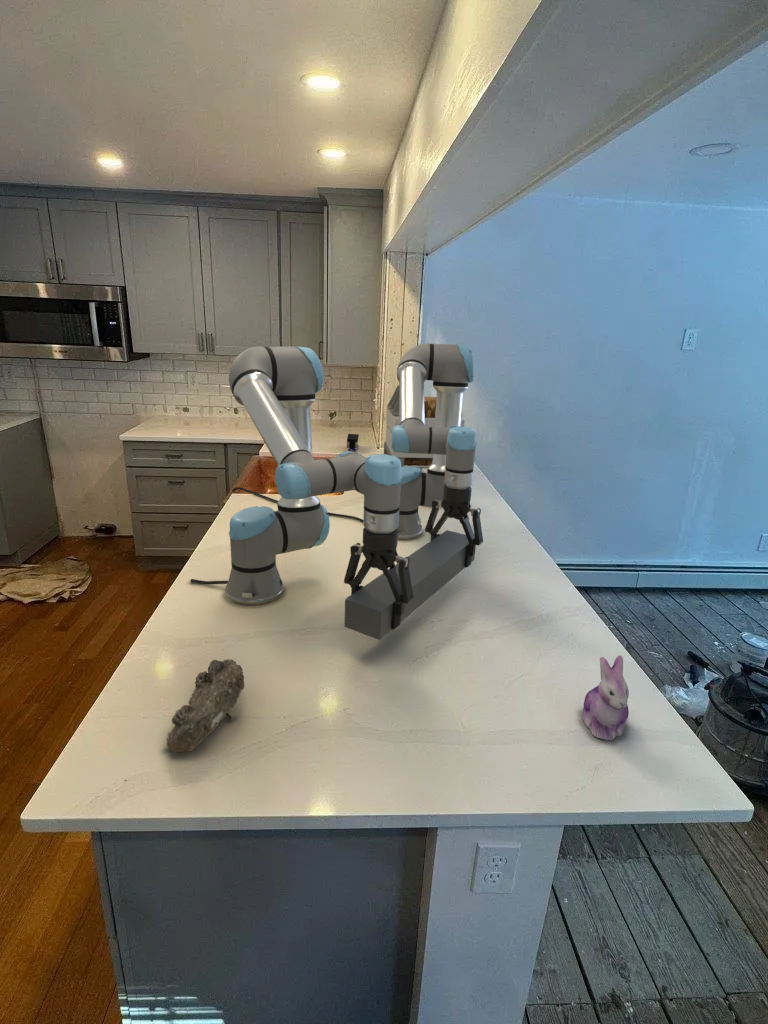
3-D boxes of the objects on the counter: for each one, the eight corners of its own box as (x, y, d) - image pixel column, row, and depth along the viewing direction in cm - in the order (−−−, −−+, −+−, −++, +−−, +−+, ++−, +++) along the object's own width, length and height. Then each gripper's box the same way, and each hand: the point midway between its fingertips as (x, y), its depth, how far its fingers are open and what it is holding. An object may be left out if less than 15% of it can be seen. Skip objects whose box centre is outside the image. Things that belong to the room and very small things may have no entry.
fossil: (192, 660, 117) (244, 628, 112) (224, 691, 120) (276, 661, 115) (142, 746, 98) (202, 712, 93) (182, 779, 101) (242, 748, 96)
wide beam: (444, 551, 168) (446, 529, 165) (474, 559, 163) (476, 537, 161) (344, 626, 126) (344, 599, 124) (380, 640, 121) (381, 611, 119)
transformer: (382, 463, 289) (386, 382, 275) (445, 464, 293) (451, 384, 279) (390, 482, 257) (394, 392, 243) (460, 483, 261) (468, 394, 247)
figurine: (608, 750, 104) (623, 681, 99) (567, 715, 113) (579, 651, 107) (643, 734, 108) (659, 668, 103) (601, 702, 117) (614, 640, 112)
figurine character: (358, 454, 309) (358, 445, 322) (358, 441, 305) (359, 432, 319) (345, 454, 308) (347, 445, 322) (346, 441, 305) (347, 432, 319)
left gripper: (328, 521, 123) (327, 612, 131) (418, 545, 112) (411, 643, 120) (348, 512, 129) (346, 599, 137) (435, 534, 118) (427, 627, 126)
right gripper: (415, 480, 155) (410, 555, 163) (491, 497, 144) (482, 576, 152) (428, 474, 161) (422, 547, 169) (501, 490, 151) (492, 566, 158)
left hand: (376, 619), depth 128 cm, fingers closed on wide beam, 9 cm apart
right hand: (451, 560), depth 161 cm, fingers closed on wide beam, 9 cm apart
